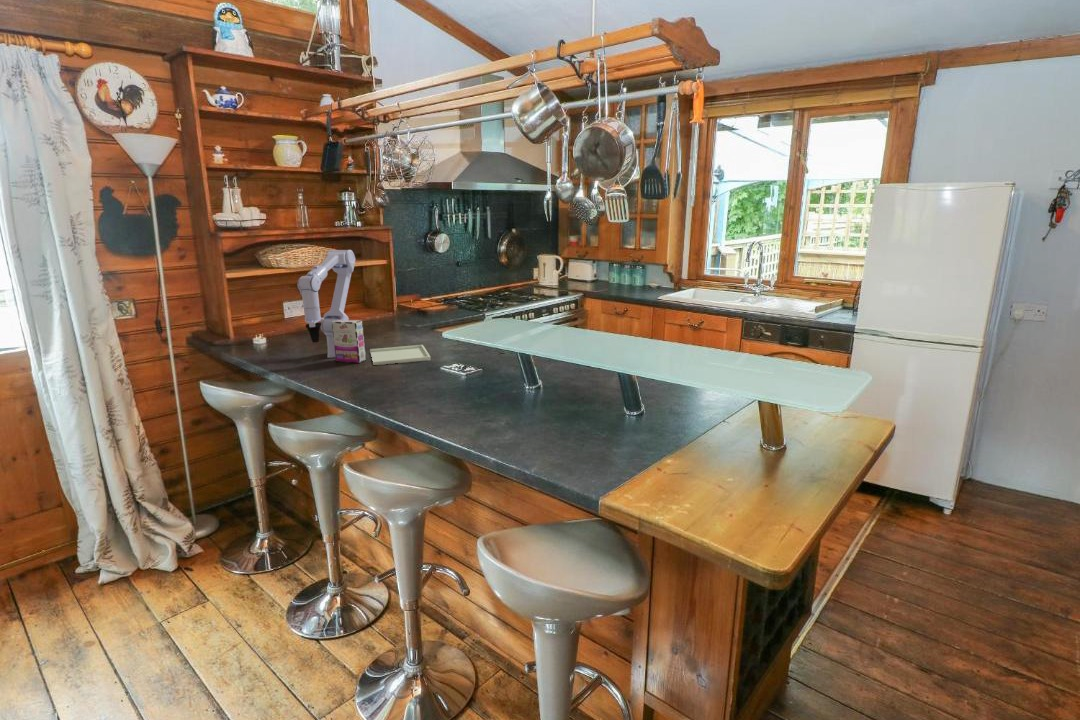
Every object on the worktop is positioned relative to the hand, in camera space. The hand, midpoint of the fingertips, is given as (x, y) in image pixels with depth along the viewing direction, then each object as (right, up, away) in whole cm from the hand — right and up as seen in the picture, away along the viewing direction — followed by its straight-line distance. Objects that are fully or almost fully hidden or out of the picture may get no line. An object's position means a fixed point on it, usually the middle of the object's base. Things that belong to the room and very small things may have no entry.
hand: (315, 341), depth 229 cm
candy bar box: (+12, -8, +6) cm, 15 cm away
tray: (+30, -6, +12) cm, 33 cm away
